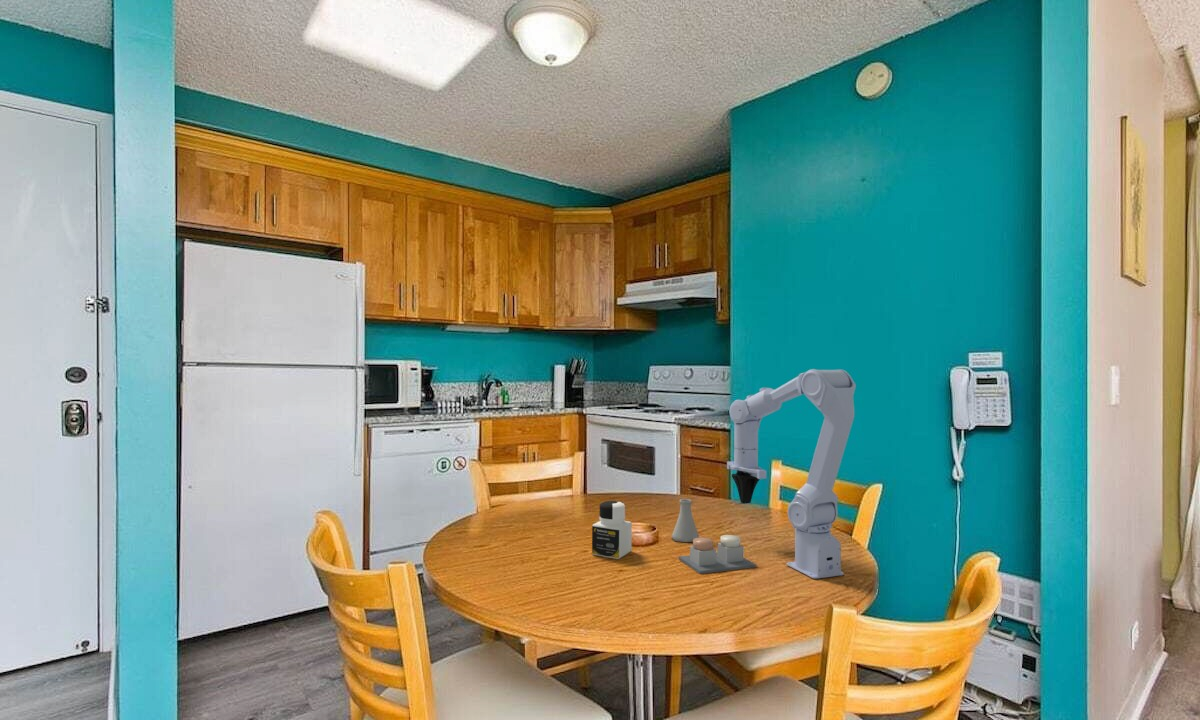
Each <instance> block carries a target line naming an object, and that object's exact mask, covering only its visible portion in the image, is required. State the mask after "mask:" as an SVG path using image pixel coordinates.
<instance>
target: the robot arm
mask: <svg viewBox="0 0 1200 720" xmlns="http://www.w3.org/2000/svg"><path fill="white" fill-rule="evenodd" d="M856 386H857V385H856V382H854V380H853V378H852V376H851V375H850V374H849V372H847V371H846V370H844V369H839V368H838V369H815V368H812V369H811V368H810V369H809V370H807V371H805V372H802V373H799V374H798V375H797V376H796V377H794V378H793V379H790V380H789V381H787V382H786V383H784V384H782V385H781V386H779V387H777V388H775V389H773V388H771V387H761V388H759V392H757V393H754V394H749V395H747V396H746V398H745V399H743V400H742V399H736V400H734V401H732V403H731V404H730V406H729V411H728V412H729V417H730V419H731V421H732V422H733V423H734V427H733V429H734V431H733V433H734V436H733V439H734V440H733V441H734V442H733V443H734V444H733V448H734V449H733V457H734V458H733V460H732V461H730V460H729V461H727V462H726V469H727V470H732V471H736V473H732V474H731V478H732V480H733V481H734V483H735V486H736V488H737V489H736V490H737V493H738V497H739V501H740V503H741V504H751V502H752V500H753V494H754V491H755V489H756V486H757V485H758V483H759V481H760V480H763V479H765V480H766V479H767V470H765V469H763V468H761V467H760V466H758V464H759V462H758V461H759V460H758V459H759V457H758V456H759V454H758V453H759V444H758V443H759V437H758V436H759V428H760V427H761V425H760V424H761V421H762V419H763V418H764V417H766V416H768V415H770V414H773V413H774V412H776V411H779V410H780V409H781V407H782V404H783V403H784V402H787V401H790V400H792V399H795V398H796V397H797V398H798V397H799V396H802V395H804V396H805V397H806V398H807V399H808V400H809V401H810V402H811V403H812V404H813V405H814V406H815V407H816V408H817V410H819V412H821V413H822V415H823V417H824V419H823V421H822V422H823V423H822V425H821V428H820V433H819V437H818V439H817V444H816V446H815V450H814V453H813V457H812V462H811V465H810V468H809V471H808V475H807V479H806V481H805V484H804V485H802V486H801V487H800V488H799V489H798V491H796V492H795V495H794V498H793V499H792V500H791V502H790V503H789V504H788V506H787V516H788V517H787V518H788V520H789V522H790V524H791V525H792V529H794V561H789V562H786V563H785V564H786V566H788V567H790V568H792V569H794V570H796V571H797V572H800V573H802V575H803V574H804V575H805V576H808V577H810V578H812V579H815V580H817V579H823V578H824V579H825V578H832V577H839V576H844V575H845V573H844V572H843V571H842V568H841V567H842V565H841V564H842V556H841V555H842V549H841V547H842V545H841V542H840V541H839V539H838V538H837V537H835V536H834V535H833V534H832V532H831V529H832V528H833V523H835V522H836V520H837V519H838V518H837V517H838V514H839V513H838V501H839V497H838V495H837V493H836V492H834V490H833V489H834V486H835V483H836V480H837V477H838V473H839V469H840V467H841V463H842V459H843V456H844V452H845V449H846V446H847V443H848V439H849V435H850V433H851V428H852V425H853V423H854V422H853V421H854V419H855V405H854V394H855V390H856V388H857V387H856Z"/></svg>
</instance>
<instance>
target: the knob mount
mask: <svg viewBox="0 0 1200 720" xmlns="http://www.w3.org/2000/svg"><path fill="white" fill-rule="evenodd" d="M716 545H717V549H716V548H714V547H713V549H711V550H698V549H695V548H694V547H693V545H690V547H689V550H690V551H689V555H684V556H683V555H682V556H678V560H679V561H680V562H682V563H683V564H685V565H686V566H687V567H689V568H691V569H692V570H693V571H695V572H696V573H698V574H699V575H702V574H703V575H705V574H710V573H718V572H719V573H720V572H726V571H735V570H736V571H737V570H744V569H753V568H756V567H757V564H756V563H754V562H752V561H751V560H749V559H747V558H746V557H744V546H743V545H741V544H740V546H739V547H726V546H722V545H721V544H720V542H717V544H716Z"/></svg>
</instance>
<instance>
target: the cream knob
mask: <svg viewBox="0 0 1200 720" xmlns="http://www.w3.org/2000/svg"><path fill="white" fill-rule="evenodd" d="M719 538H720V542H719V543H720V544H721V545H722V546H726V547H739V546H740V545H741V537H740V536H738V535H733V534H725V535H724V534H723V535H721V536H720V537H719Z"/></svg>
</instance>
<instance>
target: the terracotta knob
mask: <svg viewBox="0 0 1200 720" xmlns="http://www.w3.org/2000/svg"><path fill="white" fill-rule="evenodd" d="M692 546H693V547H694V548H695V549H698V550H711V549H713V548H714V540H713V539H711V538H708V537H699V538H695V539H693V542H692Z"/></svg>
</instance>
